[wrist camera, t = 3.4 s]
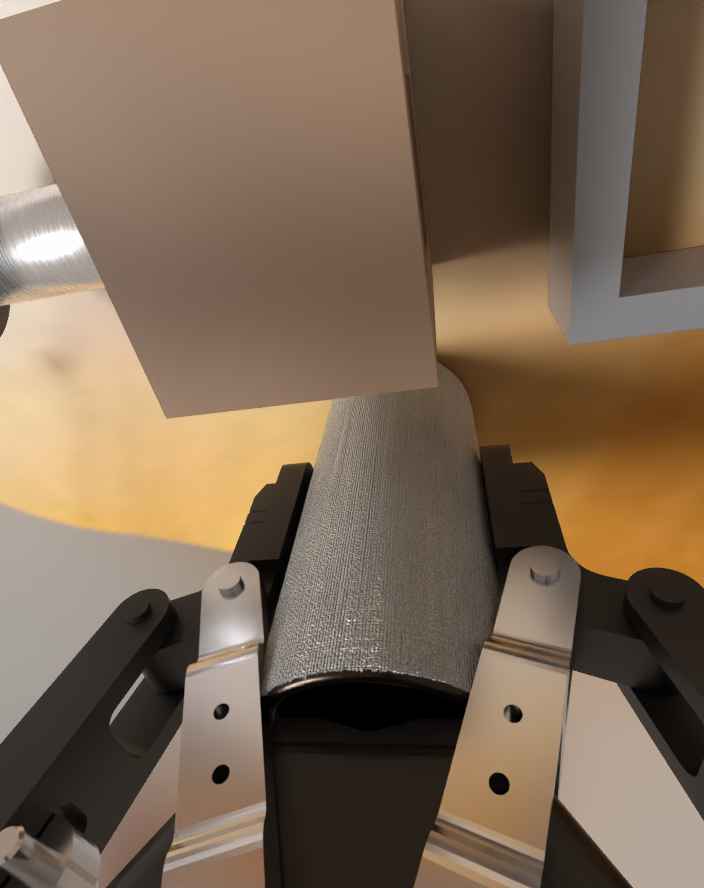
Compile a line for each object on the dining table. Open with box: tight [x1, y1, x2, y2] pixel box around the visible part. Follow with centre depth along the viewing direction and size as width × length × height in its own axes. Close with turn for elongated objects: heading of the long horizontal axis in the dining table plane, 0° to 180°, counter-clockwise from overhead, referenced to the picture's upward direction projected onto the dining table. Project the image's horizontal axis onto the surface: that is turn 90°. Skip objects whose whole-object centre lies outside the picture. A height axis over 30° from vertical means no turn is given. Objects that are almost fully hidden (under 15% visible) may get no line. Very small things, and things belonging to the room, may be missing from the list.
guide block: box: [0, 0, 439, 418], centre depth 10 cm, size 6×5×7 cm
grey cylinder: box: [262, 362, 502, 732], centre depth 13 cm, size 4×4×10 cm
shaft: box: [0, 184, 105, 337], centre depth 11 cm, size 4×10×4 cm, turn 101°
